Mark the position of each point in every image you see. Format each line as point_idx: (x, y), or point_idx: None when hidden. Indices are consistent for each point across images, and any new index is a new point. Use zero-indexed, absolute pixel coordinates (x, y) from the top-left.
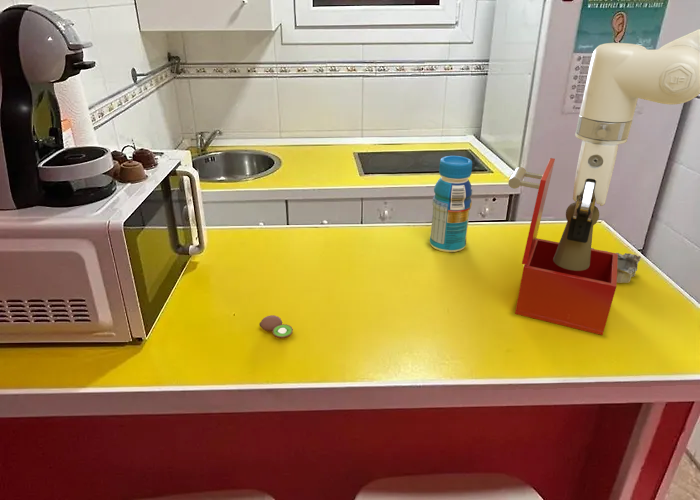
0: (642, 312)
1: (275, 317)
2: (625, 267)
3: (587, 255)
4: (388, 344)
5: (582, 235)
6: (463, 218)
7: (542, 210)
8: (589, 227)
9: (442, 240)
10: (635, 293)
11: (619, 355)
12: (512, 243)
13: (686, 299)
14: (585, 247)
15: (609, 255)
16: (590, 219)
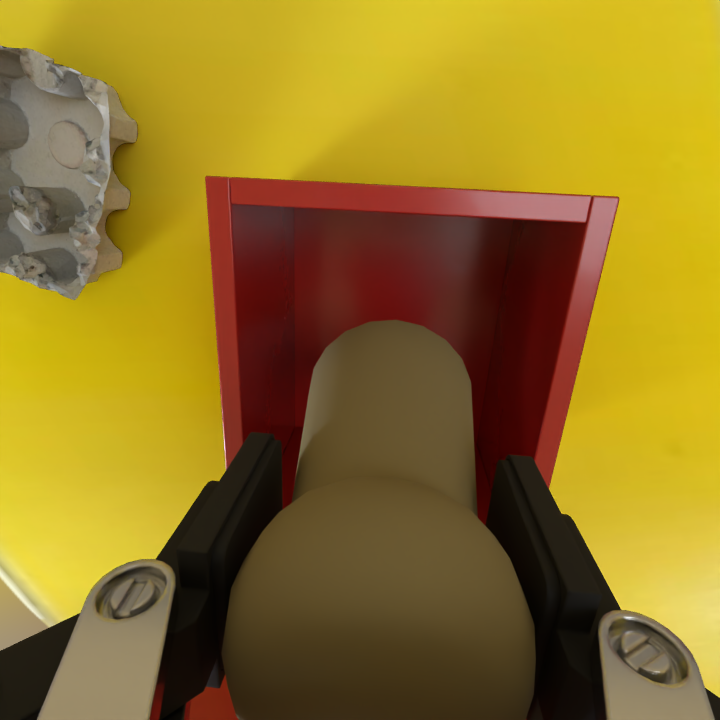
0: (319, 41)
1: None
2: (5, 99)
3: (442, 371)
4: (700, 671)
5: (572, 530)
6: None
7: (206, 699)
8: (573, 547)
9: None
10: (184, 63)
11: (635, 141)
12: (63, 477)
13: None
14: (459, 415)
15: (235, 220)
16: (687, 661)
